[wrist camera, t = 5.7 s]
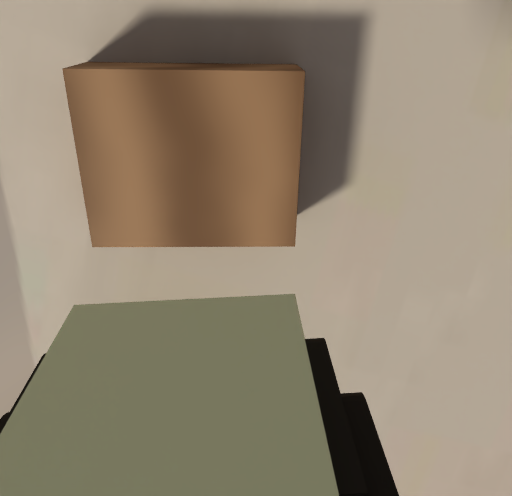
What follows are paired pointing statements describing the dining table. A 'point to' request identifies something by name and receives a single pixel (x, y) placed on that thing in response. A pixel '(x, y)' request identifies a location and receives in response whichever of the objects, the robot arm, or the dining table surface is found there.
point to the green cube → (171, 405)
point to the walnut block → (188, 152)
